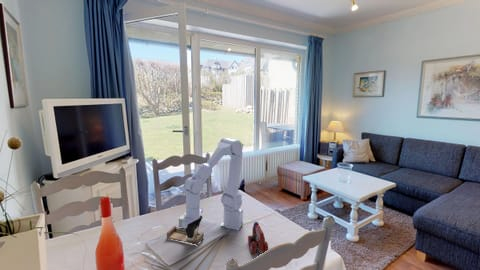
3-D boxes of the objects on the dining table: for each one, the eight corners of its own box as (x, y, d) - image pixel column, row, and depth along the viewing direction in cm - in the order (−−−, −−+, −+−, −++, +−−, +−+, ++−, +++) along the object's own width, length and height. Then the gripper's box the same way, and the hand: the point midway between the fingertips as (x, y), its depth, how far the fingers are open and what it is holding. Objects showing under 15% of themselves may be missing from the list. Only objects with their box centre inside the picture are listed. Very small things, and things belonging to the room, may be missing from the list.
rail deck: (203, 238, 103) (203, 232, 103) (197, 246, 98) (197, 240, 97) (174, 231, 108) (174, 225, 107) (166, 239, 102) (166, 232, 101)
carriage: (199, 237, 101) (199, 226, 101) (195, 242, 98) (195, 230, 97) (189, 235, 103) (190, 224, 102) (185, 240, 99) (185, 228, 99)
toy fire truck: (261, 238, 106) (262, 217, 104) (269, 256, 94) (270, 233, 92) (246, 239, 104) (247, 218, 103) (252, 258, 92) (254, 234, 91)
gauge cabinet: (196, 225, 114) (196, 216, 113) (191, 231, 109) (191, 221, 108) (184, 222, 116) (184, 213, 115) (178, 228, 111) (178, 218, 110)
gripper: (193, 197, 106) (192, 224, 108) (175, 211, 92) (175, 242, 94) (206, 199, 104) (206, 227, 106) (190, 214, 90) (190, 246, 92)
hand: (192, 234), depth 100 cm, fingers closed on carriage, 4 cm apart
